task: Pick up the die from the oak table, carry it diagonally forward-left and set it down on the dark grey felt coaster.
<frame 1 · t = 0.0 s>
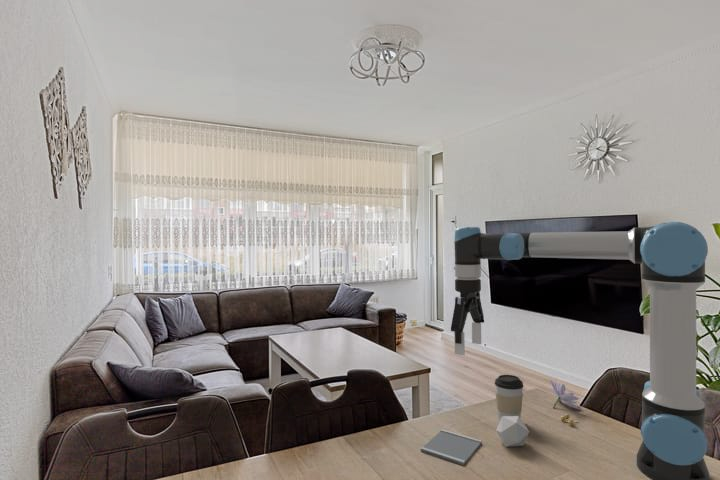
hand: (468, 348, 125), 28 cm above the table, tool pointing down, fingers open, 13 cm apart
coaster: (451, 447, 122), on the table
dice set: (568, 424, 138), on the table
die: (512, 444, 124), on the table
water lily: (565, 407, 149), on the table
coffee cup: (509, 422, 138), on the table
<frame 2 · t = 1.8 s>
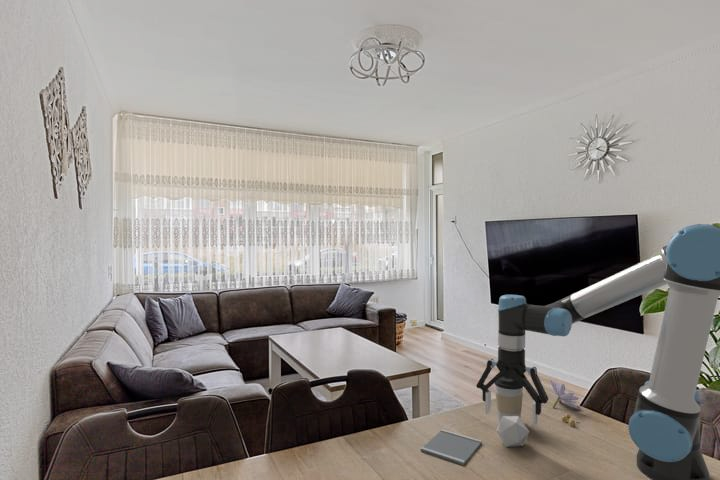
hand: (510, 418, 124), 8 cm above the table, tool pointing down, fingers open, 13 cm apart
nothing on the table moved.
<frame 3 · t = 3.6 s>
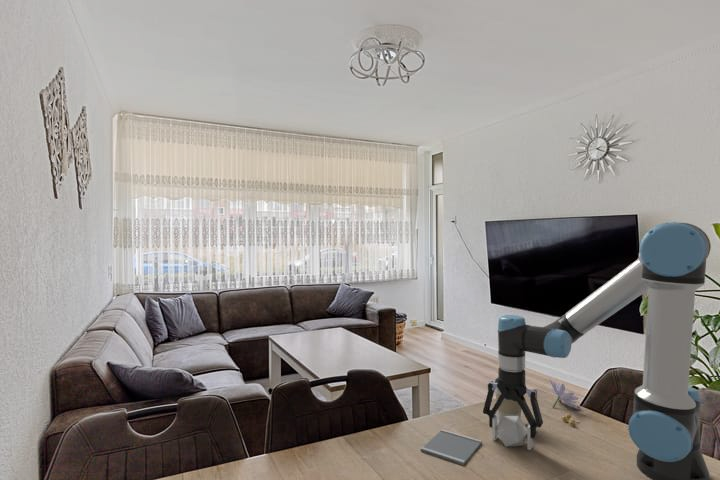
hand: (512, 443, 124), 0 cm above the table, tool pointing down, fingers closed on die, 9 cm apart
die: (512, 444, 124), on the table, touching gripper
everything else where it was.
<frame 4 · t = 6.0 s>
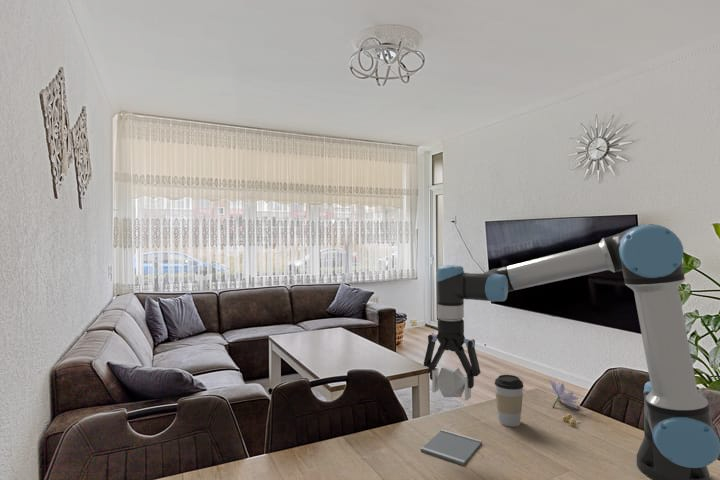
hand: (451, 394, 122), 16 cm above the table, tool pointing down, fingers closed on die, 9 cm apart
die: (451, 395, 122), point 15 cm above the table, touching gripper
everything else where it was.
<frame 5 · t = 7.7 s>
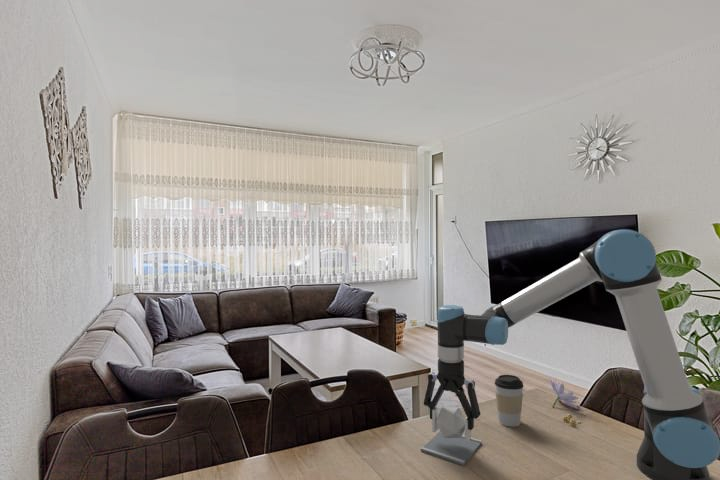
hand: (451, 434, 122), 4 cm above the table, tool pointing down, fingers closed on die, 9 cm apart
die: (451, 436, 122), point 3 cm above the table, touching gripper
everything else where it was.
when the fingers open (2 cm above the table, at t = 8.9 s): die drops 1 cm, resting on coaster.
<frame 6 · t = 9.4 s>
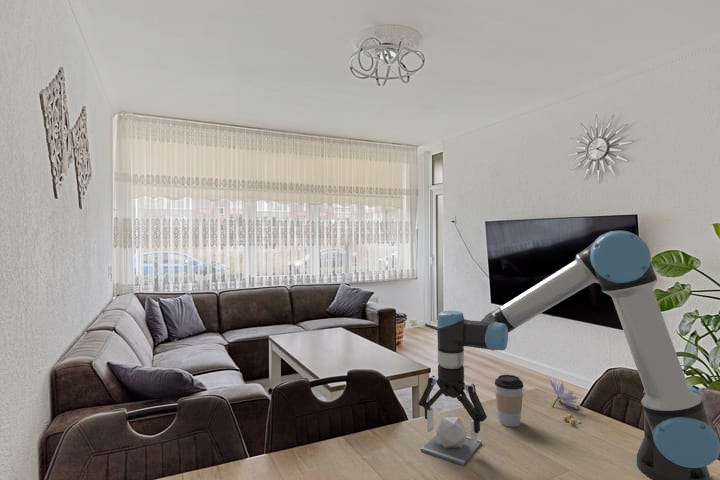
hand: (451, 436, 122), 3 cm above the table, tool pointing down, fingers open, 13 cm apart
die: (451, 445, 122), resting on coaster
everything else where it was.
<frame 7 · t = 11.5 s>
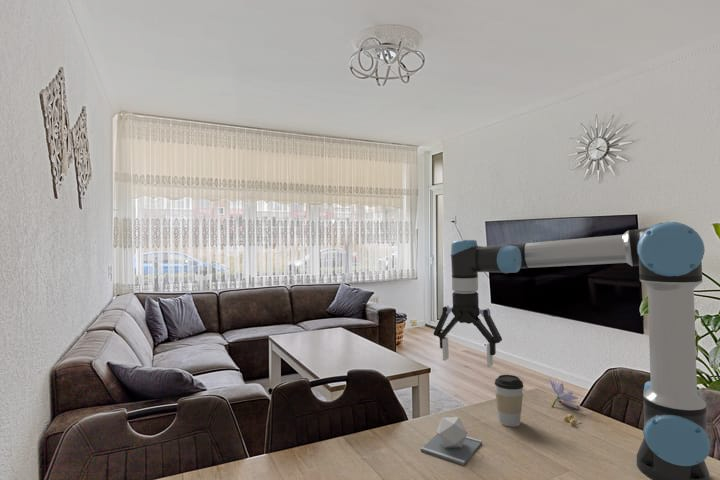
hand: (467, 362, 124), 24 cm above the table, tool pointing down, fingers open, 13 cm apart
nothing on the table moved.
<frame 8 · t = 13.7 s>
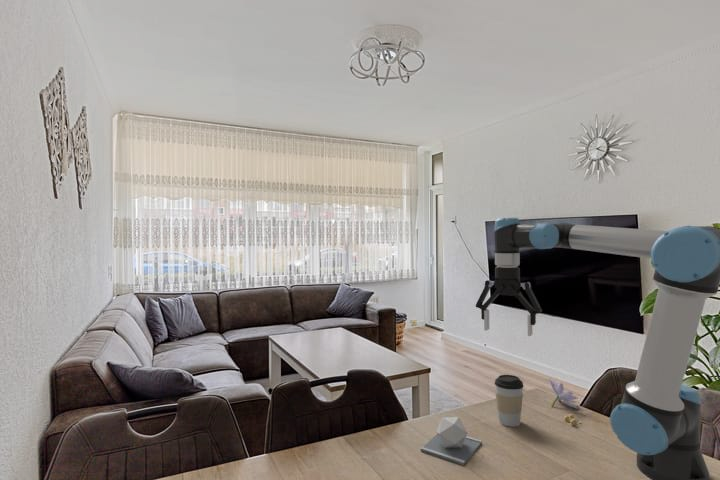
hand: (507, 332, 134), 31 cm above the table, tool pointing down, fingers open, 13 cm apart
at the end: die inside the target area on the coaster (0.0 cm from its centre), point 0.4 cm above the coaster's base; die tilted 0°; the gripper is holding nothing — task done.
